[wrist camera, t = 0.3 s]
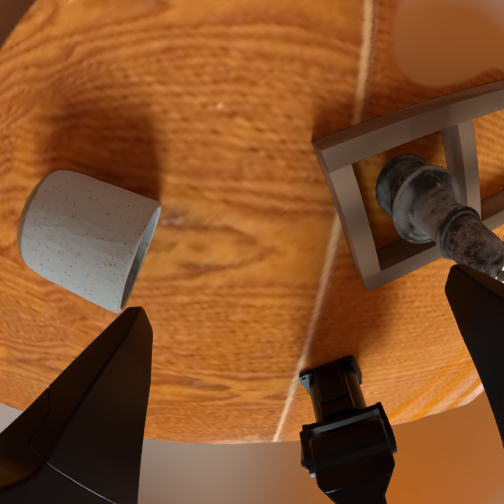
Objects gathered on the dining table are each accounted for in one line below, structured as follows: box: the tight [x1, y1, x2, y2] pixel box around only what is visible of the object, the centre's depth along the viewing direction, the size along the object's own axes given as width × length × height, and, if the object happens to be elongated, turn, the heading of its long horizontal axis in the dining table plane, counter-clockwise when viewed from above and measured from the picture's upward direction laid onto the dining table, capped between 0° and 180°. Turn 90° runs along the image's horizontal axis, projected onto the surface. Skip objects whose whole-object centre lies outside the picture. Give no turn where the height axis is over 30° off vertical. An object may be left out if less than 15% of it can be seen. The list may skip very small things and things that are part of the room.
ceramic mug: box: [17, 170, 161, 313], centre depth 19 cm, size 11×8×8 cm
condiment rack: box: [311, 80, 504, 292], centre depth 19 cm, size 12×22×2 cm, turn 115°
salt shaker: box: [376, 154, 504, 282], centre depth 16 cm, size 6×6×12 cm
